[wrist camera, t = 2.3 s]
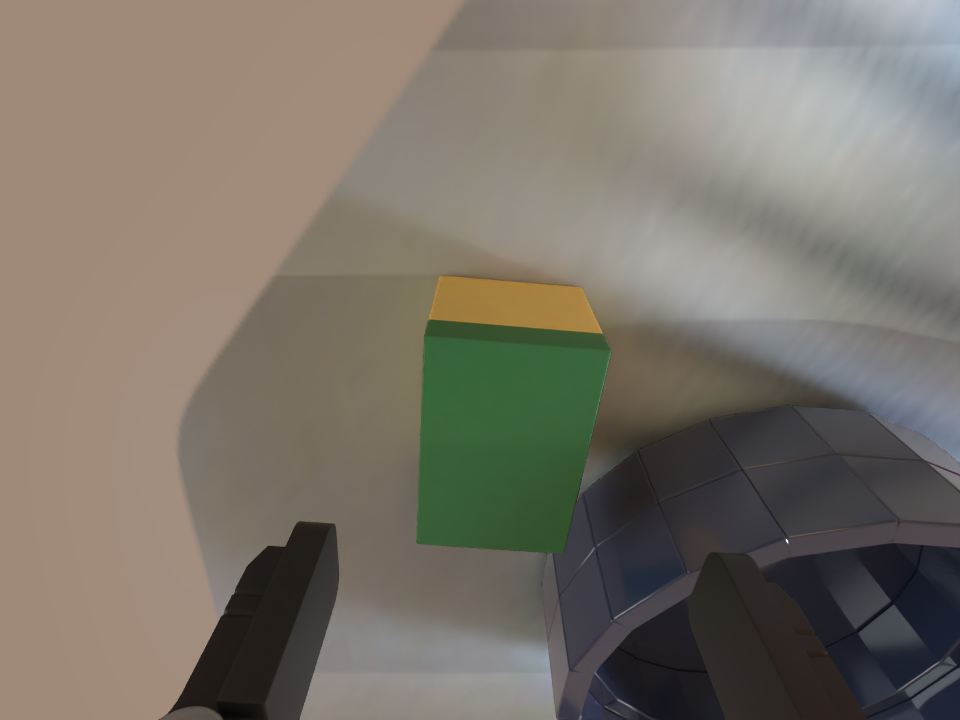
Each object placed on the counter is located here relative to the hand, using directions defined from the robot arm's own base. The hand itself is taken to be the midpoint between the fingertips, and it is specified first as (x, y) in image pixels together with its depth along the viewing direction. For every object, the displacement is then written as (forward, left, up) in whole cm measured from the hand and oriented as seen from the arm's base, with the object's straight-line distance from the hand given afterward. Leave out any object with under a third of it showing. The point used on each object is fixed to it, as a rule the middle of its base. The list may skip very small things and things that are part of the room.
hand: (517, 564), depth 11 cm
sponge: (0, 0, -8) cm, 8 cm away
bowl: (+8, +11, -8) cm, 15 cm away
